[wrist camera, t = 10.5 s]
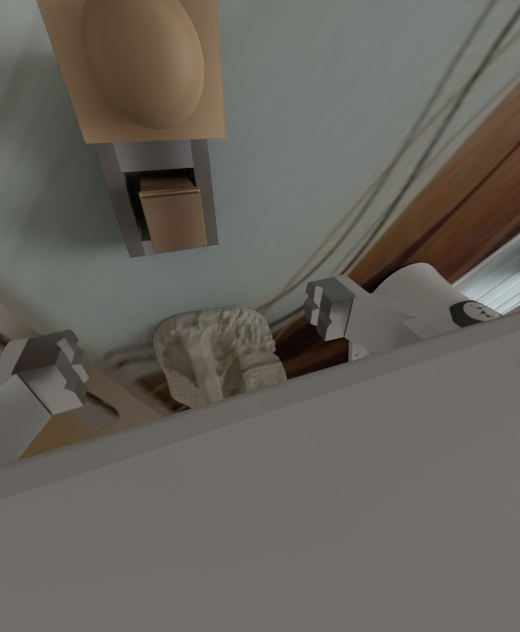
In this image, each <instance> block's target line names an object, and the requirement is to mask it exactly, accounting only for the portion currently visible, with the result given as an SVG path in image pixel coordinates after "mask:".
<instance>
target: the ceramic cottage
mask: <svg viewBox="0 0 520 632" xmlns="http://www.w3.org/2000/svg"><path fill="white" fill-rule="evenodd" d="M272 337H273V336H272V334H271V332H270V329H269V326H268V323H267V320H266V319H265V317H264V316H263V315H261V314H260V313H258V312H256V311H255V310H253V309H250V308H247V307H243V306H235V305H234V306H229V307H223V308H216V309H207V310H200V311H194V312H187V313H180V314H176V315H173V316H171V317H170V318H168V319H166V320H164V321H163V322H162V323H161V324H160V325H159V327H158V328H157V329H156V331H155V334H154V336H153V347H154V350H155V354H156V357H157V361H158V364H159V365H160V367H161V368H163V372H164V373H165V376H166V379H167V381H168V385H169V390H170V393H171V396H172V397H173V398H174V399H175V400H176V401H178V402H179V403H183V404H185V405H188V406H189V407H191V408H196V407H199V406H202V405H206V404H209V403H212V402H216V401H219V400H222V399H226V398H229V397H232V396H236V395H239V394H242V393H246V392H249V391H252V390H256V389H259V388H262V387H266V386H269V385H272V384H276V383H279V382H283V381H286V380H287V377H286V373H285V370H284V367H283V365H282V363H281V361H279V357H278V356H276V355H275V354H274V353H273V352H274V351H275V349H276V348H275V341H274V340H273V339H272Z"/></svg>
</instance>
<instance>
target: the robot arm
mask: <svg viewBox="0 0 520 632" xmlns="http://www.w3.org/2000/svg"><path fill="white" fill-rule="evenodd" d="M306 293H307V294H308V298H307V299H306V300H305V304H304V310H305V315H306V317H307V319H308V321H309V322H310V323H311V324H313V325H315V326H317V329H316V331H317V332H318V333H319V334H320V336H321V337H322V338H323V339H324V341H328V340H332V339H336V338H341V337H344V338H346V339H348V340H349V356H348V362H347V363H343V364H340V365H337V366H333V367H330V368H326V369H323V370H320V371H316V372H313V373H310V374H306V375H303V376H299V377H296V378H293V379H289V380H286V381H283V382H279V383H276V384H272V385H269V386H266V387H262V388H259V389H256V390H252V391H249V392H246V393H242V394H239V395H236V396H232V397H229V398H226V399H222V400H219V401H216V402H212V403H209V404H206V405H202V406H199V407H196V408H192V409H189V410H186V411H182V412H179V413H176V414H172V415H169V416H166V417H162V418H159V419H156V420H152V421H149V422H146V423H143V424H139V425H135V426H132V427H129V428H125V429H122V430H119V431H115V432H112V433H109V434H106V435H102V436H99V437H96V438H92V439H89V440H85V441H82V442H79V443H75V444H72V445H69V446H65V447H62V448H59V449H55V450H52V451H48V452H45V453H42V454H39V455H35V456H32V457H28V458H25V459H22V460H19V461H16V460H17V459H18V458H19V457H20V456H21V454H22V453H23V452H24V450H25V449H26V448H27V447H28V446H29V444H30V443H31V442H32V441H33V439H34V438H35V437H36V436H37V434H38V433H39V432H40V431H41V430H42V428H43V427H44V426H45V425H46V423H47V422H48V421H49V420H50V419H51V417H52V416H51V415H54V414H57V413H61V412H65V411H68V410H71V409H75V408H78V407H82V406H84V401H85V396H86V391H87V388H86V386H85V385H84V383H85V382H86V380H87V379H88V378H89V376H90V363H89V360H88V357H87V354H86V353H85V351H84V350H83V349H81V348H79V347H77V343H78V339H77V337H76V335H75V334H74V332H73V331H71V330H65V331H60V332H54V333H49V334H43V335H39V336H33V337H27V338H22V339H18V340H13V341H11V342H8V344H7V346H6V347H5V349H4V351H3V352H2V354H1V356H0V632H520V311H517V312H514V313H510V314H507V315H504V316H503V315H501V314H500V313H498V312H496V311H494V310H493V309H491V308H489V307H487V306H485V305H483V304H481V303H478V302H476V301H474V300H471V299H469V298H468V297H466V296H465V295H464V294H462V293H461V292H460V291H458V290H457V289H456V288H454V287H453V286H452V285H451V284H449V283H448V282H447V281H446V280H445V279H444V278H443V277H442V276H441V275H440V274H439V273H438V272H437V271H436V270H435V269H434V267H432V266H431V265H429V264H427V263H415V264H411V265H408V266H406V267H404V268H402V269H400V270H398V271H396V272H395V273H393V274H392V275H390V276H389V277H388V278H387V279H386V280H384V281H383V282H382V283H381V284H380V285H379V286H378V287H377V289H376V290H375V291H374V292H373V293H371V294H369V293H368V292H366V291H365V290H364V289H362V288H361V287H360V286H359V285H357V284H356V283H355V282H354V281H352V280H351V279H350V278H348V277H347V276H346V275H339V276H334V277H331V278H327V279H322V280H317V281H313V282H308V284H307V286H306Z"/></svg>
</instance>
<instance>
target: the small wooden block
mask: <svg viewBox="0 0 520 632" xmlns="http://www.w3.org/2000/svg"><path fill="white" fill-rule="evenodd" d="M140 182H141V192H139V196H140V200H141V204H142V208H143V211H144V215H145V219H146V223H147V226H148V230H149V234H150V238H151V242H152V245H153V249H154V251H155V252H156V253H162V252H169V251H175V250H182V249H189V248H196V247H203V246H207V241H206V234H205V226H204V219H203V212H202V204H201V197H200V189H199V188H198V187H195V186H194V185H193V184H192V182H191V181H190V180H189V179H188V177H187V176H186V175H185V173H184V172H174V173H160V174H146V175H140Z"/></svg>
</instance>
